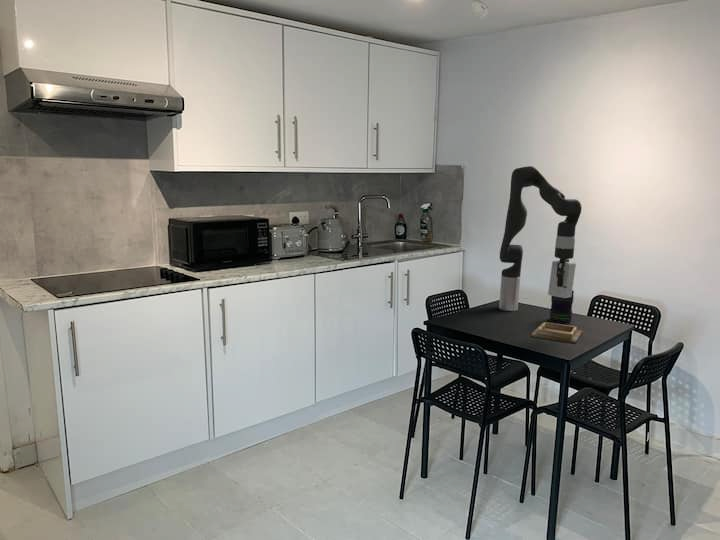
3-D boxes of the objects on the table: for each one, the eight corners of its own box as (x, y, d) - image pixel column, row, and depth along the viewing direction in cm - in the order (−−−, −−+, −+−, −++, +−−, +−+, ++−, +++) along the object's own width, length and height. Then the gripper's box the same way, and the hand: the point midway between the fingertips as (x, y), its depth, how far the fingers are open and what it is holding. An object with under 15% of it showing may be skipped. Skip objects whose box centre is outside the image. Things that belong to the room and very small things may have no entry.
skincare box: (547, 295, 238) (550, 261, 236) (554, 293, 243) (557, 259, 240) (566, 298, 232) (569, 263, 230) (573, 296, 237) (576, 262, 234)
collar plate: (540, 326, 252) (540, 320, 252) (582, 333, 244) (582, 326, 243) (531, 336, 237) (531, 329, 236) (575, 343, 228) (576, 336, 228)
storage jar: (562, 317, 269) (564, 287, 267) (575, 323, 260) (578, 291, 258) (544, 319, 266) (547, 288, 264) (558, 324, 257) (560, 292, 255)
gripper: (558, 244, 242) (555, 281, 245) (552, 247, 229) (548, 287, 232) (576, 245, 238) (573, 283, 241) (571, 249, 226) (567, 289, 229)
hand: (561, 285), depth 237 cm, fingers closed on skincare box, 7 cm apart
